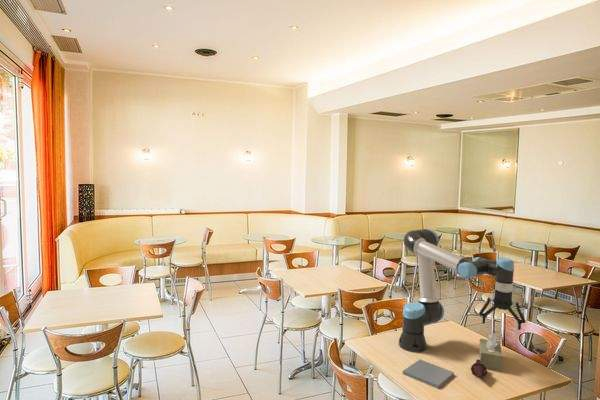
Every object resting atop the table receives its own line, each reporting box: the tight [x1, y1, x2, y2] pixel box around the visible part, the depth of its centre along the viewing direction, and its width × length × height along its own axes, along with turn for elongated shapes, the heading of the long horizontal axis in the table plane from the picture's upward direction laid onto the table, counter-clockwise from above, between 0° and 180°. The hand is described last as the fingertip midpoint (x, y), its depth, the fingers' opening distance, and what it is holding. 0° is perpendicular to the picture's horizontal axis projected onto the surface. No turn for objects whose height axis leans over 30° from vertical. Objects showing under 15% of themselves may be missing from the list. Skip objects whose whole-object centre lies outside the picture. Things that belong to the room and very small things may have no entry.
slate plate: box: [402, 359, 455, 389], centre depth 193 cm, size 18×17×2 cm
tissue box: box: [478, 332, 503, 372], centre depth 207 cm, size 19×10×16 cm, turn 157°
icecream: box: [470, 358, 488, 379], centre depth 192 cm, size 7×7×15 cm
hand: (500, 332), depth 195 cm, fingers open, 13 cm apart
